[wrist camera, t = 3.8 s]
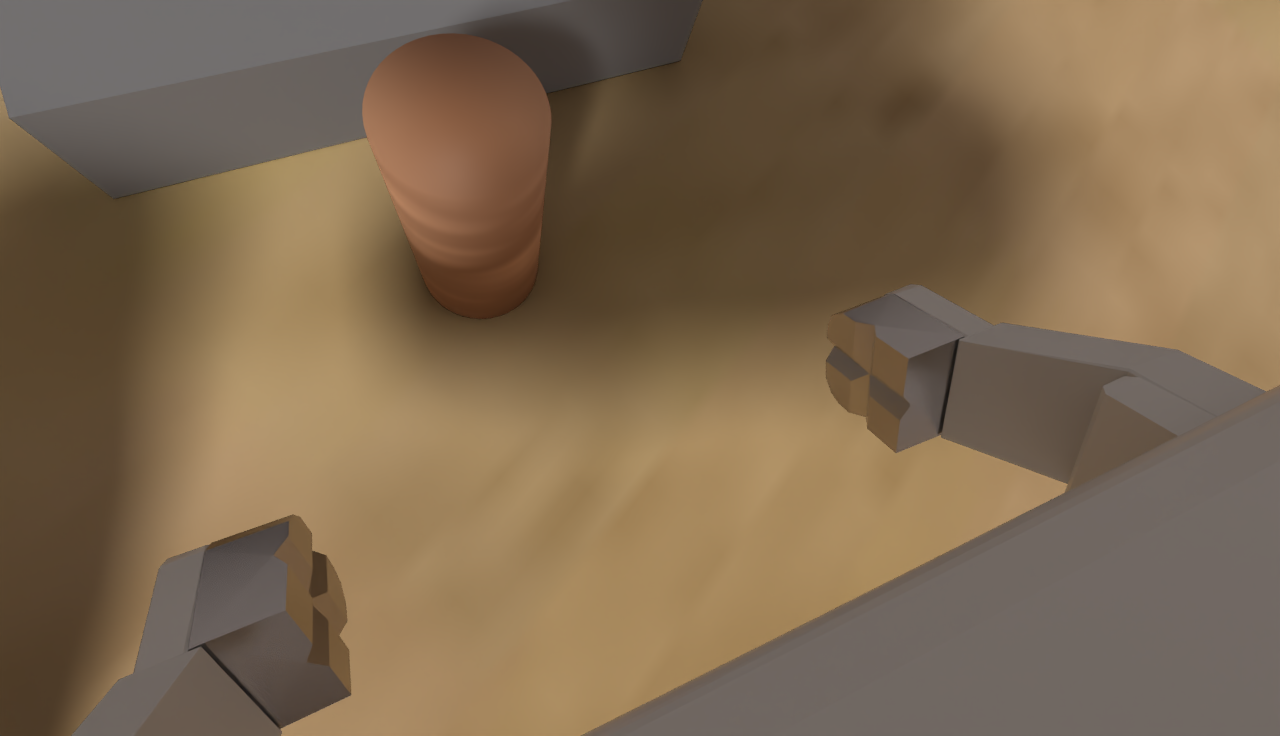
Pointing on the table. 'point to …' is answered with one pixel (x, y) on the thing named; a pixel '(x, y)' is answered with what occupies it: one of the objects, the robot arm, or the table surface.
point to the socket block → (272, 70)
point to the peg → (464, 165)
